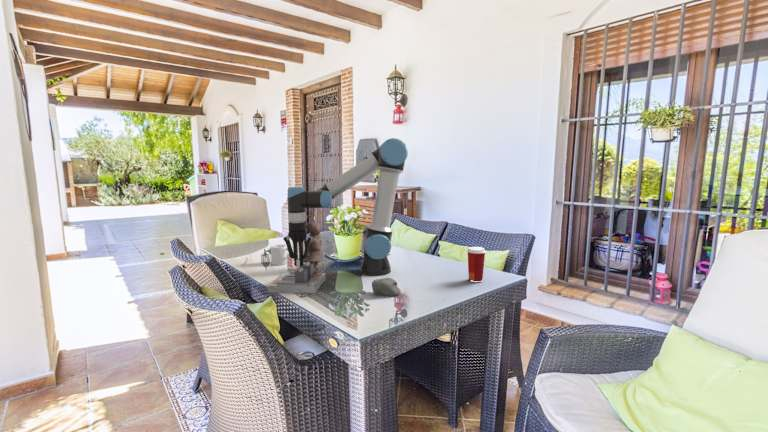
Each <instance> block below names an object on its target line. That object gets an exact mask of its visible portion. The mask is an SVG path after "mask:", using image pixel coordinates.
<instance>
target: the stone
mask: <svg viewBox="0 0 768 432" xmlns="http://www.w3.org/2000/svg"><path fill="white" fill-rule="evenodd" d="M371 287H372V291H373V294H374V295H375V296H377V297H386V296H391V297H398V296H400V295H401V293H402V292H401V289H400V287H398V282H397V280H396V279H394V278H391V277H384V278H379V279H374V280H372V282H371ZM399 294H400V295H399Z"/></svg>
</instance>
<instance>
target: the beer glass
mask: <svg viewBox="0 0 768 432" xmlns="http://www.w3.org/2000/svg"><path fill="white" fill-rule="evenodd" d="M466 252H467V267H468V280H469V279H470V280H473V281H481V280H482V279H484V270H485V269H484V267H485V259H486V252H487V251H486V250H485V248H484V247H482V246H469V247H468V248H467V250H466ZM482 281H483V280H482Z"/></svg>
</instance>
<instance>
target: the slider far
mask: <svg viewBox="0 0 768 432" xmlns="http://www.w3.org/2000/svg"><path fill="white" fill-rule="evenodd" d="M303 263H304V264H303V265H302V268H303V269H307V276H312V275H313V274H314V269H313V263H310V262H307V263H305V262H303Z"/></svg>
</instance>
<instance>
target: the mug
mask: <svg viewBox="0 0 768 432" xmlns="http://www.w3.org/2000/svg"><path fill="white" fill-rule="evenodd" d="M287 251H288V249H287V245H286V244H273V245H271V246H270V256H271V265H272V266H283V265H287V264H288V259H289V258H290V256H289V253H287Z"/></svg>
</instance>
